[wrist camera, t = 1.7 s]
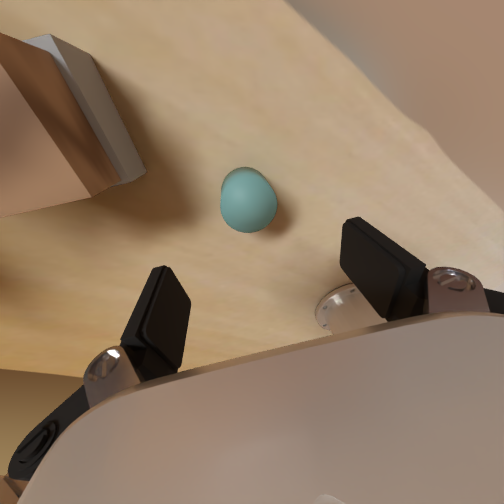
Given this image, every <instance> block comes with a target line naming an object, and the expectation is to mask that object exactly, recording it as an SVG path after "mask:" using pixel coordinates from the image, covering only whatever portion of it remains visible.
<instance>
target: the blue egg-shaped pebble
mask: <svg viewBox="0 0 504 504" xmlns="http://www.w3.org/2000/svg"><path fill="white" fill-rule="evenodd" d="M220 208H221V214H222V216H223V218H224V220H225V222H226V223H227V224H228V225H229V226H230V227H231V228H233V229H235V230H237V231H240V232H244V233H252V232H256V231H259V230H261V229H263V228H265V227H266V226H267V225H268V224H269V223H270V222H271V221H272V220H273V218H274V216H275V214H276V210H277V198H276V195H275V193H274V191H273V189H272V188H271V186H270V185H269V184H268V182H267V181H266V179H265V178H264V176H263V175H262V174H261V173H260V172H259V171H257V170H255V169H253V168H249V167H241V168H237V169H235V170H233V171H231V172H230V173H229V174H228V175H227V176H226V178H225V179H224V181H223V184H222V189H221V205H220Z"/></svg>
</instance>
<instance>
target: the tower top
mask: <svg viewBox="0 0 504 504" xmlns="http://www.w3.org/2000/svg"><path fill="white" fill-rule="evenodd" d="M120 181H121V179H120V177H119V175H118V173H117V172H116V170H115V168H114V166H113V164H112V163H111V161H110V159H109V157H108V156H107V154H106V152H105V150H104V148H103V147H102V145H101V143H100V141H99V140H98V138H97V136H96V134H95V133H94V131H93V129H92V127H91V125H90V124H89V122H88V120H87V118H86V117H85V115H84V113H83V111H82V109H81V108H80V106H79V104H78V102H77V101H76V99H75V97H74V95H73V93H72V92H71V90H70V88H69V86H68V85H67V83H66V81H65V79H64V77H63V76H62V74H61V72H60V70H59V69H58V67H57V65H56V63H55V62H54V60H53V58H52V56H51V54H50V53H49V52H48V51H46V50H43V49H40V48H38V47H35V46H33V45H30V44H28V43H25V42H23V41H20V40H18V39H15V38H13V37H10V36H7V35H5V34H2V33H0V218H2V217H6V216H11V215H15V214H20V213H24V212H28V211H33V210H37V209H42V208H46V207H51V206H55V205H59V204H64V203H68V202H73V201H77V200H82V199H86V198H90V197H93V196H95V195H97V194H98V193H100V192H102V191H104V190H105V189H107V188H109V187H111V186H112V185H114V184H116V183H118V182H120Z"/></svg>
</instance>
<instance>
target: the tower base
mask: <svg viewBox="0 0 504 504" xmlns="http://www.w3.org/2000/svg"><path fill="white" fill-rule="evenodd" d="M23 42H25V43H28V44H30V45H33V46H35V47H38V48H40V49H43V50H46V51H48V52H49V53H50V54H51V56H52V58H53V60H54V62H55V63H56V65H57V67H58V69H59V70H60V72H61V74H62V76H63V77H64V79H65V81H66V83H67V85H68V86H69V88H70V90H71V92H72V93H73V95H74V97H75V99H76V101H77V102H78V104H79V106H80V108H81V109H82V111H83V113H84V115H85V117H86V118H87V120H88V122H89V124H90V125H91V127H92V129H93V131H94V133H95V134H96V136H97V138H98V140H99V141H100V143H101V145H102V147H103V148H104V150H105V152H106V154H107V156H108V157H109V159H110V161H111V163H112V164H113V166H114V168H115V170H116V172H117V173H118V175H119V177H120V179H121V181H120V182H118V183H116V184H114V185H112V186H111V187H113V186H117V185H121V184H125V183H129V182H132V181H134V180H135V179H137V178H138V177H140V176H142V175H143V174H145V173H146V172H147V171H146V169H145V166H144V164H143V162H142V160H141V158H140V156H139V154H138V152H137V150H136V148H135V146H134V144H133V142H132V140H131V138H130V136H129V134H128V132H127V130H126V127H125V125H124V123H123V121H122V119H121V117H120V115H119V113H118V111H117V109H116V107H115V105H114V103H113V101H112V99H111V97H110V95H109V93H108V91H107V89H106V86H105V84H104V82H103V80H102V78H101V76H100V74H99V72H98V70H97V68H96V66H95V64H94V62H93V60H92V58H91V56H90V54H89V53H87V52H85V51H83V50H81V49H79V48H77V47H75V46H73V45H71V44H69V43H67V42H65V41H63V40H61V39H59V38H57V37H55V36H53V35H51V34H47V35H43V36H39V37H35V38H32V39H28V40H24V41H23Z"/></svg>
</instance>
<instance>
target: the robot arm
mask: <svg viewBox="0 0 504 504" xmlns="http://www.w3.org/2000/svg"><path fill="white" fill-rule="evenodd" d="M340 266H341V268H342V269H343V271H344V272H345V273H346V275H347V276H348V277H349V278H350V280H351V281H352V282H353V284H348V285H345V286H342V287H340V288H338V289H336V290H334V291H332V292H331V293H329V294H328V295H327V296H325V297H324V298H323V299H322V300H321V302H320V303H319V305H318V306H317V308H316V312H315V316H316V320H317V322H318V324H319V325H320V326H321V327H322V328H324V329H327V330H331V332H332V333H333V335H330V336H326V337H321V338H317V339H313V340H309V341H305V342H300V343H296V344H292V345H288V346H284V347H280V348H275V349H271V350H267V351H263V352H259V353H255V354H251V355H246V356H242V357H238V358H234V359H230V360H226V361H222V362H218V363H214V364H210V365H206V366H202V367H198V368H194V369H190V370H186V371H182V372H178V373H177V371H178V368H180V366H181V364H182V358H183V352H184V346H185V340H186V334H187V327H188V321H189V315H190V309H191V301H190V299H189V297H188V295H187V294H186V292H185V290H184V289H183V287H182V286H181V284H180V282H179V281H178V279H177V278H176V276H175V274H174V273H173V271H172V269H171V268H170V267H167V266H165V265H163V266H159V267H155V268H153V269H152V271H151V273H150V276H149V278H148V280H147V282H146V284H145V286H144V289H143V291H142V293H141V295H140V297H139V300H138V302H137V304H136V306H135V308H134V311H133V313H132V315H131V317H130V319H129V321H128V324H127V326H126V328H125V330H124V332H123V335H122V337H121V339H120V340H121V344H120V346H113V347H110V348H108V349H106V350H104V351H103V352H101V353H100V354H99V355H98V356H96V357H95V358H94V359H93V361H92V362H91V363H90V364H89V366H88V367H87V369H86V371H85V374H84V377H83V379H84V380H83V381H84V385H82V386H81V388H79V389H78V390H77V391H76V392H75V393H74V394H72V395H71V396H70V397H69V398H68V399H67V400H65V402H63V403H62V404H61V405H60V406H59V407H58V408H56V409H55V410H54V411H53V412H52V413H51V414H50V415H49V416H47V417H46V418H45V419H44V420H43V421H42V422H41V423H39V424H38V425H37V426H36V427H35V428H34V429H33V430H32V431H31V432H30V433H29V434H28V435H27V436H26V437H25V438H24V440H23V441H22V442H21V444H20V445H19V446H18V448H17V449H16V451H15V452H14V454H13V456H12V458H11V461H10V463H9V467H8V473H7V474H6V475H5V476H2V475H0V504H504V293H502V292H498V291H494V290H489V289H485V288H483V285H482V284H481V282H480V281H479V280H478V279H477V278H476V277H475V276H473V275H471V274H470V273H468V272H465V271H463V270H460V269H456V268H452V267H436V268H433V269H431V270H428V269H427V268H426V267H425V266H426V264H424V263H423V262H422V261H420V260H419V259H417V258H416V257H415V256H413V255H412V254H411V253H409V252H408V251H406V250H405V249H404V248H402V247H401V246H399V245H398V244H397V243H395V242H394V241H392V240H391V239H390V238H388V237H387V236H386V235H384V234H383V233H381V232H380V231H379V230H377V229H376V228H374V227H373V226H372V225H370V224H369V223H368V222H366V221H365V220H363V219H362V218H361V217H355V218H351V219H347V220H346V222H345V223H344V224H343V227H342V240H341V252H340Z"/></svg>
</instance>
